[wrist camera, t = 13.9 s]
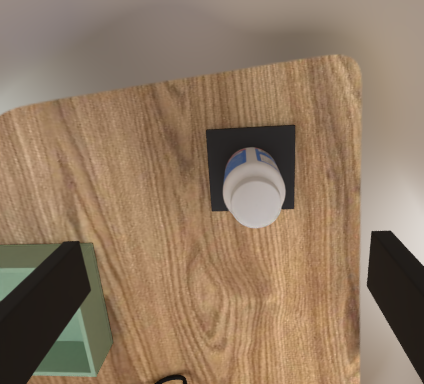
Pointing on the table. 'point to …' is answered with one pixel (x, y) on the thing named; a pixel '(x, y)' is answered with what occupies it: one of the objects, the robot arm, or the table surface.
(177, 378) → the glasses
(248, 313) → the table surface
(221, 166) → the mat
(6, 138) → the table surface
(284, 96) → the table surface
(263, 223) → the pill bottle
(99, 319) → the tote
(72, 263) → the robot arm
